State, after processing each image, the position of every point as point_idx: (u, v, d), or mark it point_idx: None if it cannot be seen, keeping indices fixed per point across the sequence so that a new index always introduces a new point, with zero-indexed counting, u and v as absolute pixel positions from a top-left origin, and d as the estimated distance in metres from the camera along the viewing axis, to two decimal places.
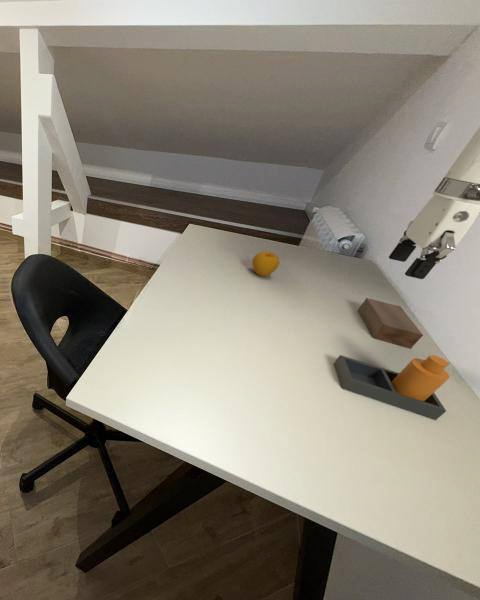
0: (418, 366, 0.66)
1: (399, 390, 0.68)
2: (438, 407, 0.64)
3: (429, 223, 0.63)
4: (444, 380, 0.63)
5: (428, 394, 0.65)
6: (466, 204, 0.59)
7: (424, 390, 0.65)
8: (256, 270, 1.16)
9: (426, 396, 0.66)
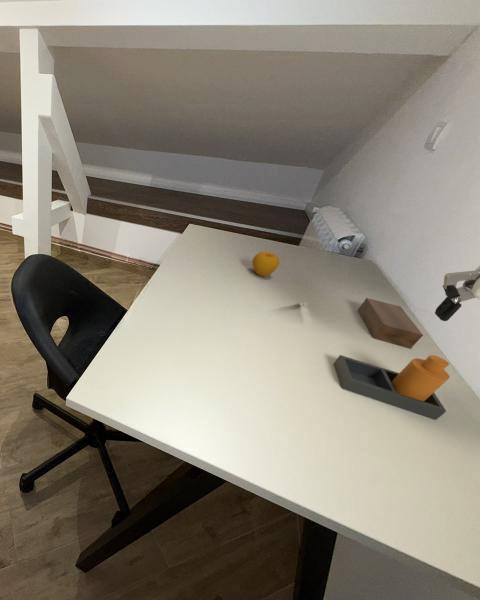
0: (418, 366, 0.66)
1: (399, 390, 0.68)
2: (438, 407, 0.64)
3: None
4: (444, 380, 0.63)
5: (428, 394, 0.65)
6: None
7: (424, 390, 0.65)
8: (256, 270, 1.16)
9: (426, 396, 0.66)
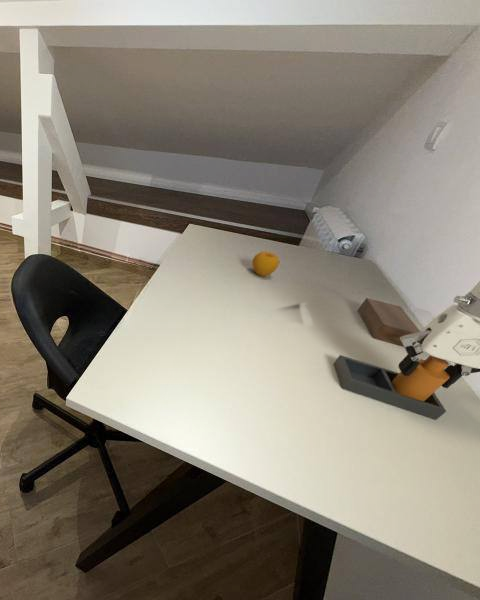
0: (418, 366, 0.66)
1: (399, 390, 0.68)
2: (438, 407, 0.64)
3: None
4: (444, 380, 0.63)
5: (428, 394, 0.65)
6: (453, 309, 0.59)
7: (424, 390, 0.65)
8: (256, 270, 1.16)
9: (426, 396, 0.66)
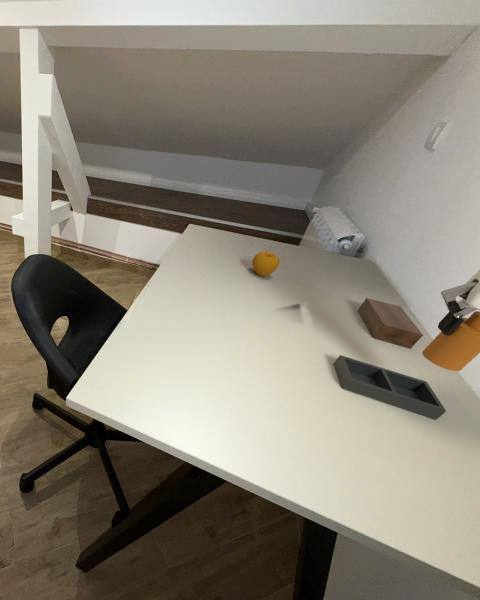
0: (462, 324, 0.59)
1: (439, 353, 0.62)
2: (438, 407, 0.64)
3: None
4: None
5: (473, 355, 0.59)
6: None
7: (469, 350, 0.59)
8: (256, 270, 1.16)
9: (471, 357, 0.59)
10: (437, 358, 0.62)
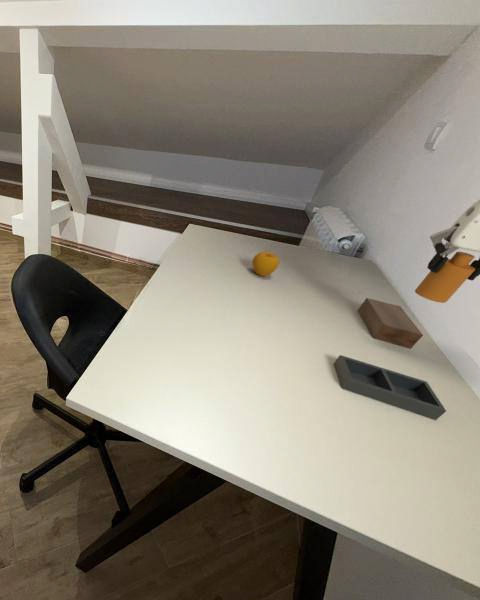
0: (447, 262, 0.73)
1: (429, 288, 0.75)
2: (438, 407, 0.64)
3: None
4: (471, 271, 0.70)
5: (456, 287, 0.73)
6: (479, 202, 0.67)
7: (452, 283, 0.72)
8: (256, 270, 1.16)
9: (454, 289, 0.73)
10: (427, 292, 0.76)
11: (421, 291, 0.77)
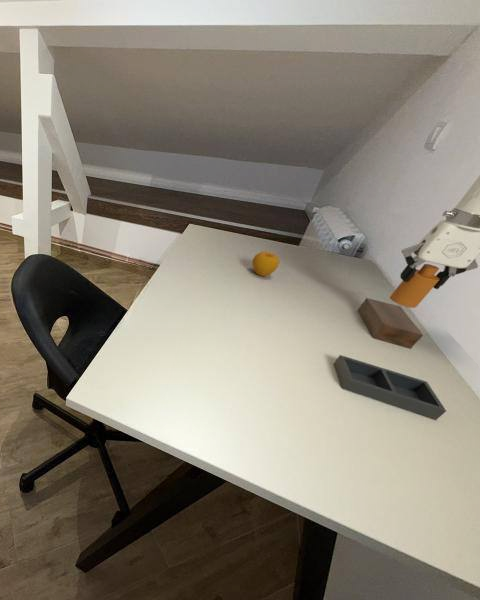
0: (416, 273, 0.84)
1: (401, 295, 0.87)
2: (438, 407, 0.64)
3: None
4: (435, 281, 0.82)
5: (423, 294, 0.84)
6: (442, 222, 0.78)
7: (420, 291, 0.84)
8: (256, 270, 1.16)
9: (422, 296, 0.85)
10: (399, 298, 0.87)
11: (395, 297, 0.89)
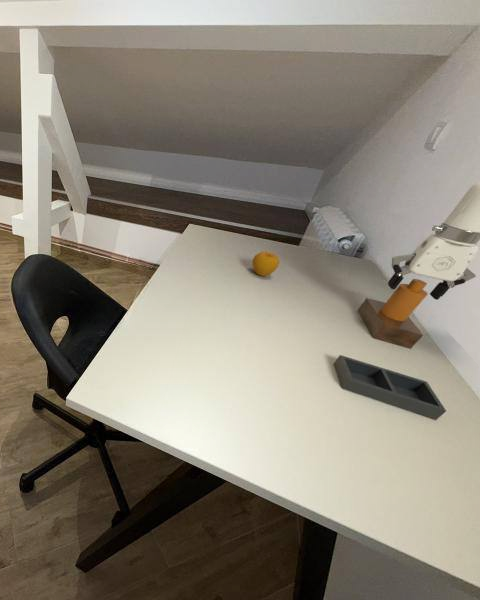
0: (404, 287, 0.87)
1: (390, 308, 0.90)
2: (438, 407, 0.64)
3: None
4: (423, 296, 0.84)
5: (412, 308, 0.87)
6: (431, 237, 0.80)
7: (409, 305, 0.86)
8: (256, 270, 1.16)
9: (410, 310, 0.87)
10: (389, 312, 0.90)
11: (384, 311, 0.91)
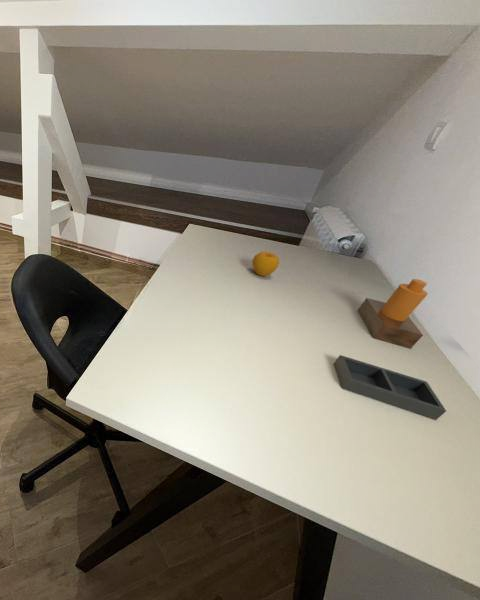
0: (404, 287, 0.87)
1: (390, 308, 0.90)
2: (438, 407, 0.64)
3: None
4: (423, 296, 0.84)
5: (412, 308, 0.87)
6: None
7: (409, 305, 0.86)
8: (256, 270, 1.16)
9: (410, 310, 0.87)
10: (389, 312, 0.90)
11: (384, 311, 0.91)
